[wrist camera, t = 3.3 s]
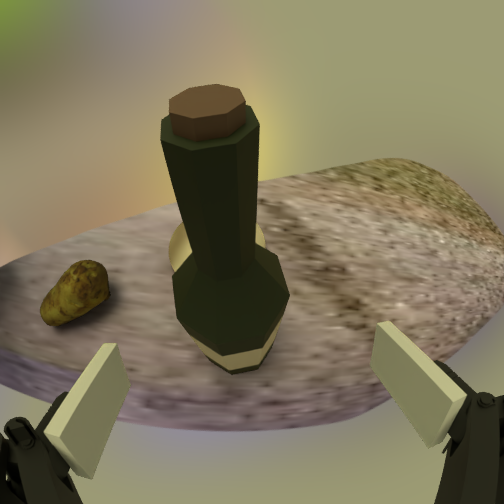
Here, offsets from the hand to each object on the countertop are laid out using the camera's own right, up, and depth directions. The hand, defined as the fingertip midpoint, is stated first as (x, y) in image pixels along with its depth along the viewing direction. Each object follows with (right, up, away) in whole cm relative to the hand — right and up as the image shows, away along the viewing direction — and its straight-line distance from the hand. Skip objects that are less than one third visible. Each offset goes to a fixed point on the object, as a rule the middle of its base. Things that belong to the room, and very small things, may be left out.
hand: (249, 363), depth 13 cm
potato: (-24, -3, +22) cm, 33 cm away
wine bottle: (-2, -6, +21) cm, 22 cm away
